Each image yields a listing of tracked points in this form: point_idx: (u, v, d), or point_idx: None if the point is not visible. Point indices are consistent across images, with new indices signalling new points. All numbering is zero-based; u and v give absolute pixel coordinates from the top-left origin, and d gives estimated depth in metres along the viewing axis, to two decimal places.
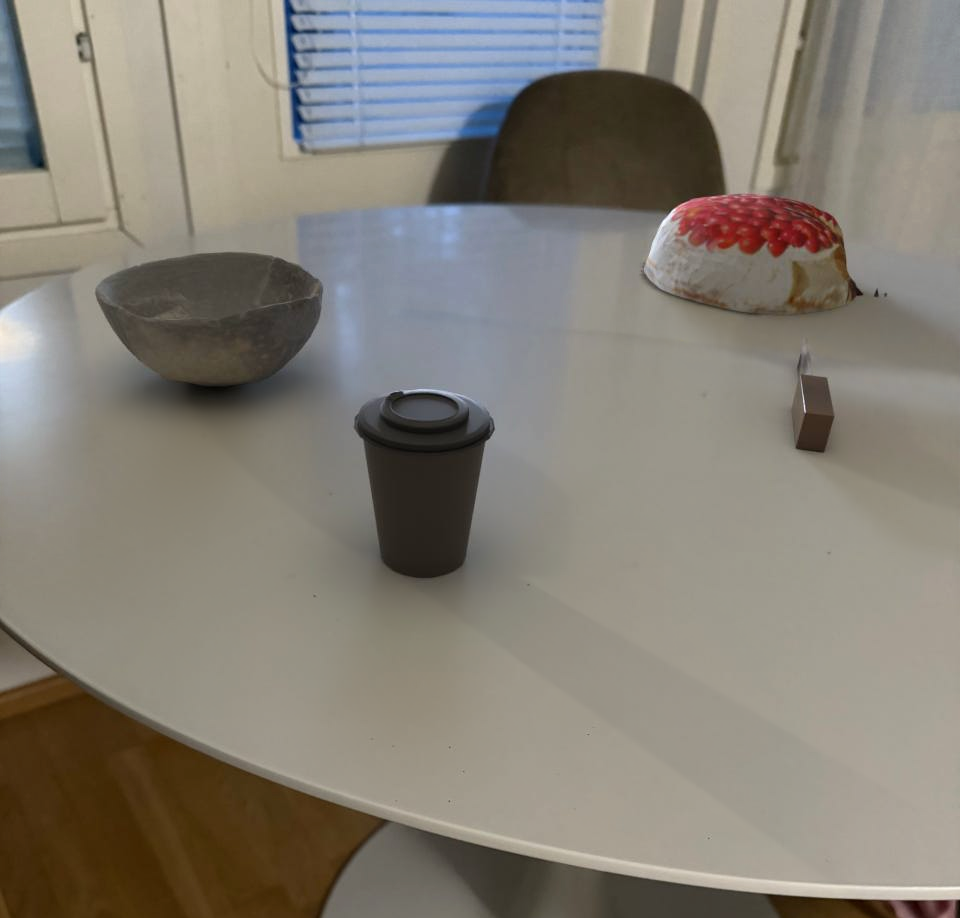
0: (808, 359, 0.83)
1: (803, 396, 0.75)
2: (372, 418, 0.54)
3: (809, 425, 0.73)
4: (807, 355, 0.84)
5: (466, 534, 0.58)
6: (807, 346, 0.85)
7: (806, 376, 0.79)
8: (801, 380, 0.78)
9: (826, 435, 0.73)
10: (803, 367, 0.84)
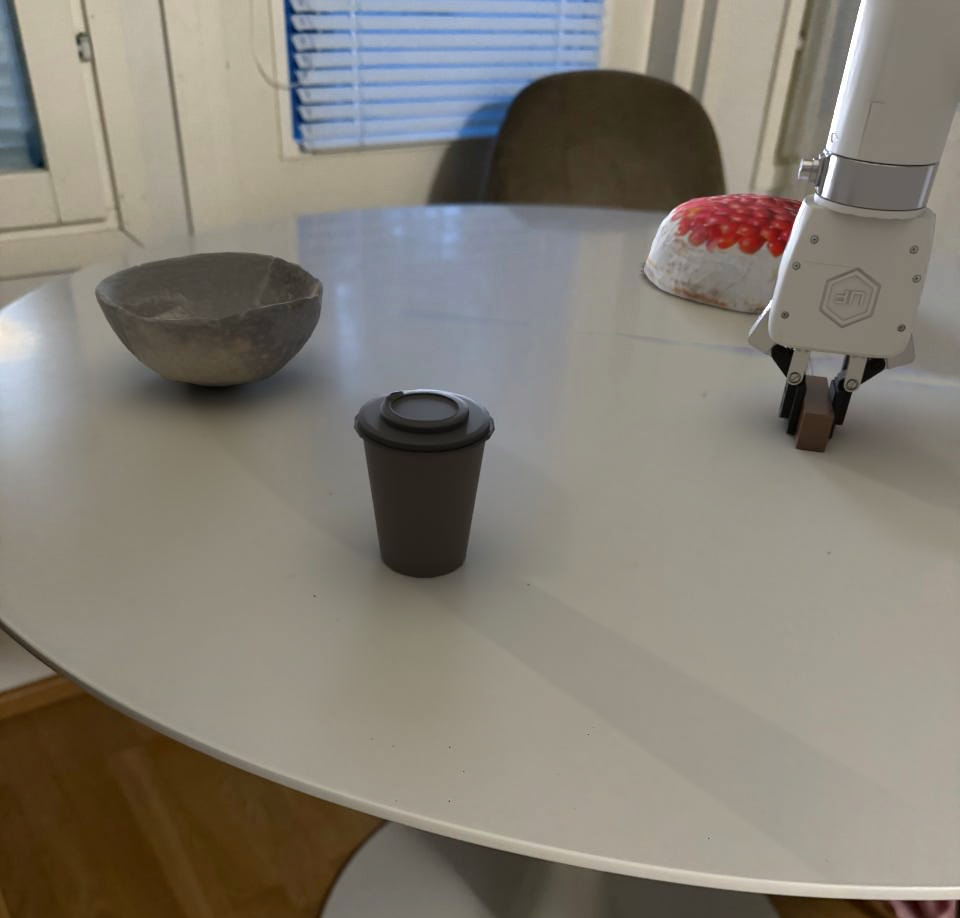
0: (808, 359, 0.83)
1: None
2: (372, 418, 0.54)
3: (809, 425, 0.73)
4: None
5: (466, 534, 0.58)
6: None
7: (806, 376, 0.79)
8: None
9: (826, 435, 0.73)
10: None
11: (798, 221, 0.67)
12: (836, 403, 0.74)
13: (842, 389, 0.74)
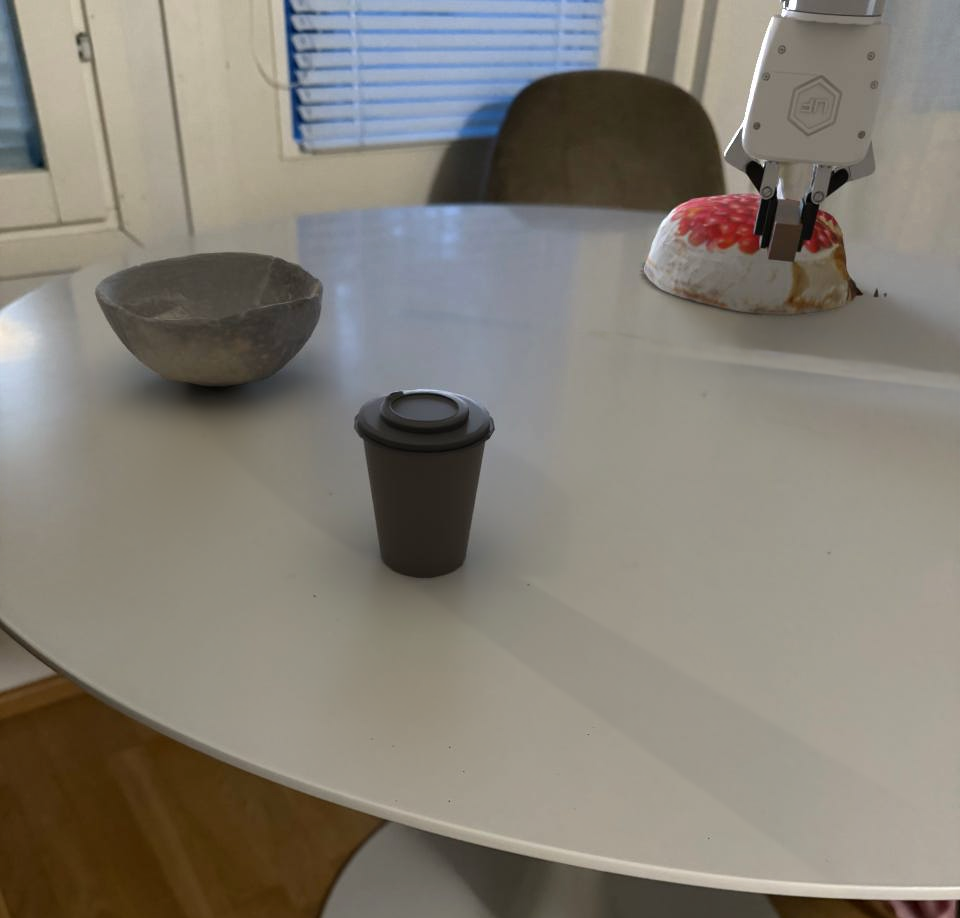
0: (782, 190, 0.90)
1: None
2: (372, 418, 0.54)
3: (780, 235, 0.81)
4: (781, 188, 0.91)
5: (466, 534, 0.58)
6: (781, 182, 0.92)
7: (779, 200, 0.86)
8: None
9: (795, 245, 0.81)
10: None
11: (767, 34, 0.75)
12: (804, 215, 0.82)
13: (810, 202, 0.81)
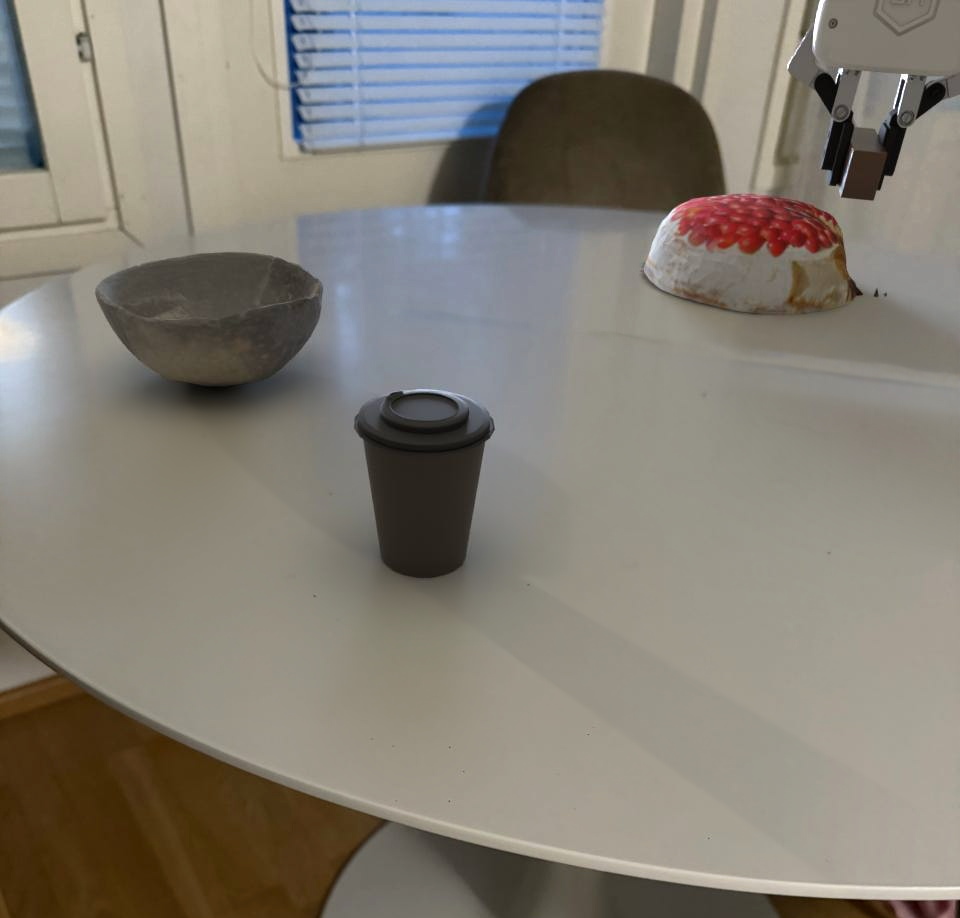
0: None
1: None
2: (372, 418, 0.54)
3: (857, 166, 0.64)
4: None
5: (466, 534, 0.58)
6: None
7: None
8: None
9: (876, 178, 0.64)
10: None
11: None
12: (888, 142, 0.65)
13: (895, 126, 0.65)
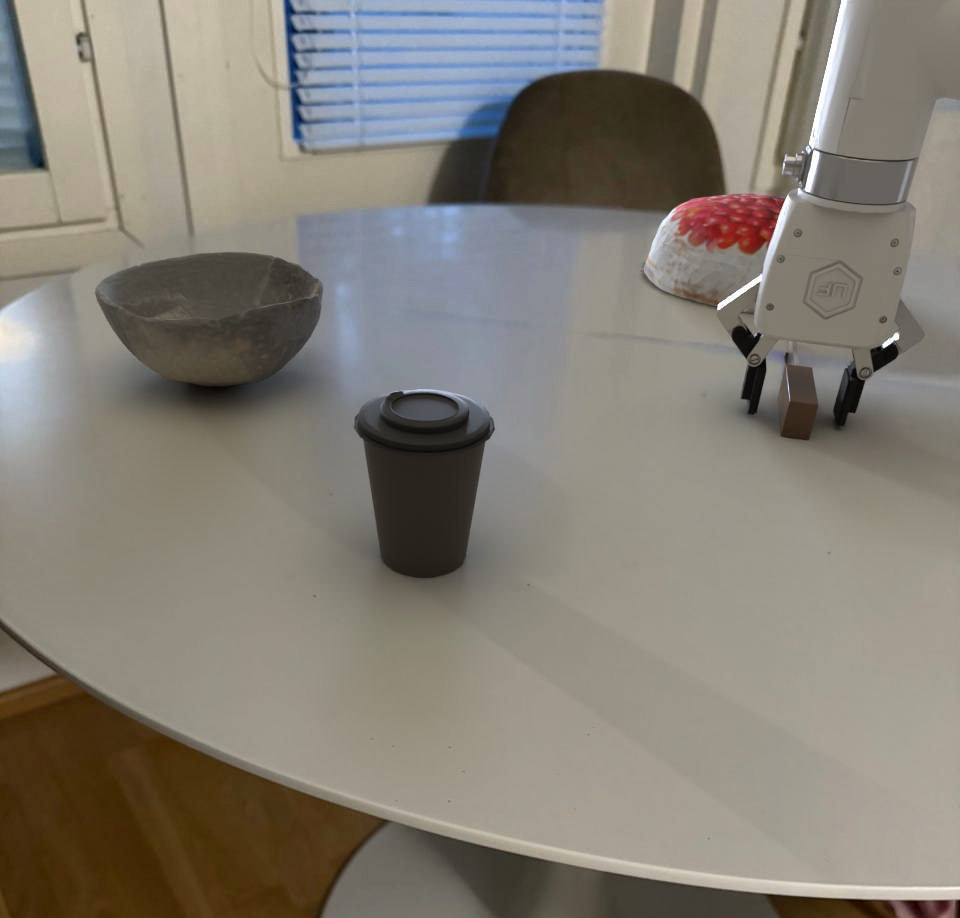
0: (794, 350, 0.84)
1: (788, 385, 0.77)
2: (372, 418, 0.54)
3: (794, 413, 0.75)
4: (793, 346, 0.85)
5: (466, 534, 0.58)
6: None
7: (791, 366, 0.80)
8: (786, 370, 0.80)
9: (810, 423, 0.75)
10: (789, 358, 0.86)
11: (782, 215, 0.69)
12: (849, 391, 0.75)
13: (855, 377, 0.75)
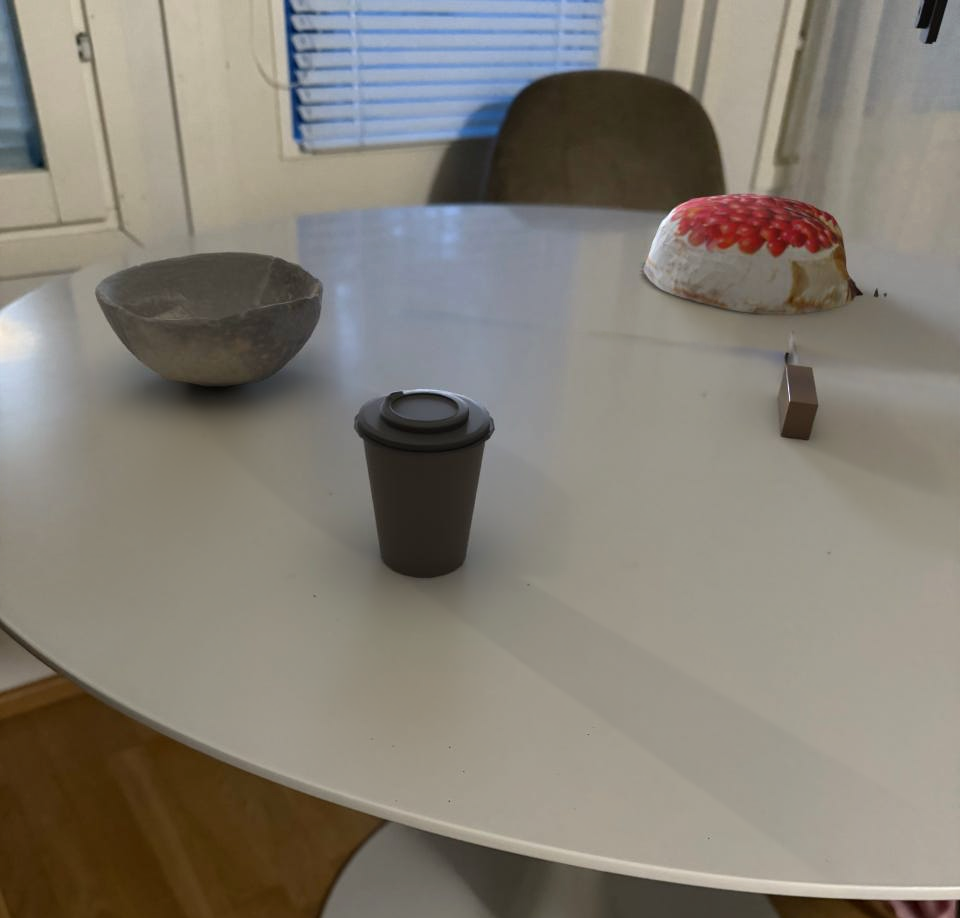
0: (794, 350, 0.84)
1: (788, 385, 0.77)
2: (372, 418, 0.54)
3: (794, 413, 0.75)
4: (793, 346, 0.85)
5: (466, 534, 0.58)
6: (793, 337, 0.87)
7: (791, 366, 0.80)
8: (786, 370, 0.80)
9: (810, 423, 0.75)
10: (789, 358, 0.86)
11: None
12: None
13: None
